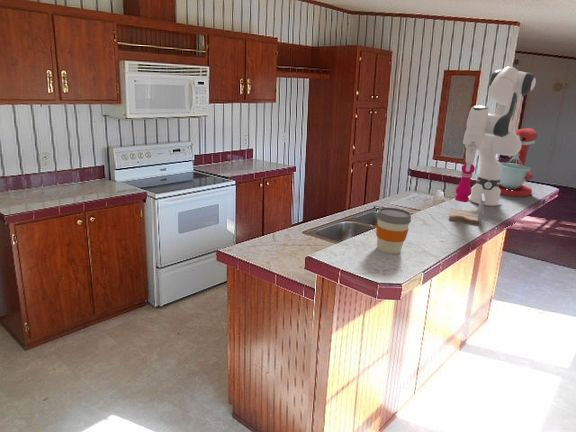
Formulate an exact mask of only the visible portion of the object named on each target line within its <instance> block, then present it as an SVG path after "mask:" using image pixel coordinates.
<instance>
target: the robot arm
mask: <svg viewBox="0 0 576 432" xmlns="http://www.w3.org/2000/svg"><path fill="white" fill-rule="evenodd" d="M488 82H489V90H488V91H489V92H488V93H489V96H490V98H491V99H492V100H493V101H494V102H495V103H497V105H496V108H495V110H494V111H495V112H494V113H489V112H490V110H489V109H490V108H489V107H488V106H486V105H480V104H479V105H474V106H472V107H470V111H469V112H468V113H469V114H468V117H467V120H466V129H465V132H464V135H463V140H462V144H463V145H465V146H464V148H465V163H467V164H466V171H468V172H469V171H470V167H471V164H473V165H474V163H475V158H476V153H478V157H479V160H480V166H479V172H478V175H477V177H476V182H475V184H473V186H472V187H471V195H470V196H468V198H469V201H468V202H472V203H475V204H478V205H479V202H480V198H481V193H482V194H484V198H485V203H484V206H489V207H490V206H502V205H503V203H502V202H501V201H500V196H501V194H500V192H501V190H500V189H499V187H498V186H499V184H500V175H501V171H502V165H501V163H502V162H500V161H499V160H497V158H496V155H501V156H505V157H507V156H508V157H509V156H510V157H511V156H512V157H513V156H514V155H516V154H517V153H518V152H519V151H520V149H521V140H520V139H519V138H518V136H517V135H516V132H515V131H516V128H515V126H516V121H517V117H518V113H519V110H520V108H521V102H522V98H523V97H525V96H526V95H528V94H530V93H531V92H532V91H533V90H534V88H535V86H536V83H537V80H536V75H535V74H534V73H532V72H529V71H528V72H525V71H520V70H518V69H517V68H516V67H513V66H505V67H504V68H502V69H497V70H495V71H493V72H492V74H491V75H490V77H489V81H488Z"/></svg>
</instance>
